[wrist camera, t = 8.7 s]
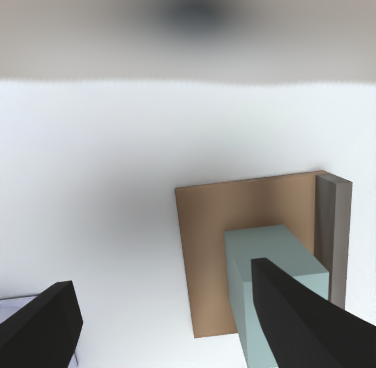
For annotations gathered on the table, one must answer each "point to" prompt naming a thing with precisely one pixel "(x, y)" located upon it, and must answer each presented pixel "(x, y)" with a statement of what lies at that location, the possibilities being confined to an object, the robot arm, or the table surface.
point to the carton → (242, 280)
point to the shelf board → (252, 218)
